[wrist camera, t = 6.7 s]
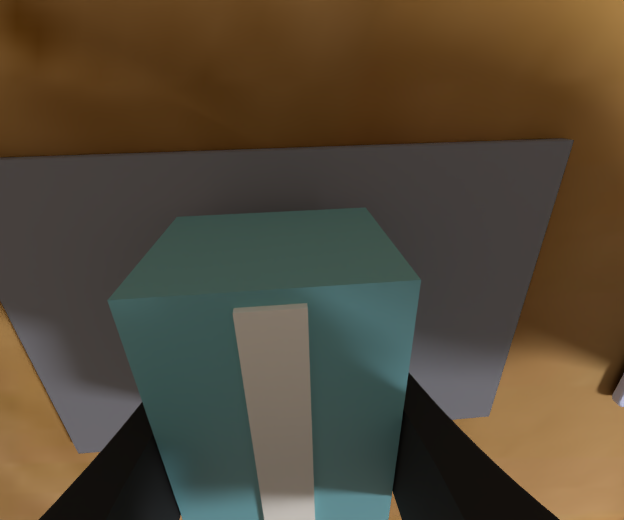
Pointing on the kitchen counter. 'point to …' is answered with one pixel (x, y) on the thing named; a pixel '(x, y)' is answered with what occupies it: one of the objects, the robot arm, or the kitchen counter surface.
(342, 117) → the kitchen counter surface
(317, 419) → the card box
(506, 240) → the mat
